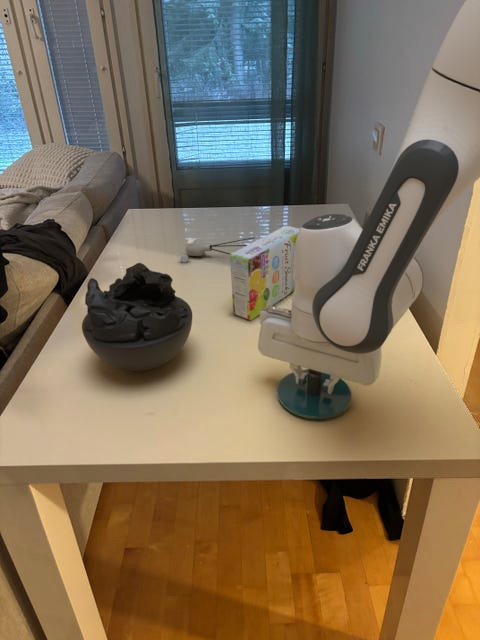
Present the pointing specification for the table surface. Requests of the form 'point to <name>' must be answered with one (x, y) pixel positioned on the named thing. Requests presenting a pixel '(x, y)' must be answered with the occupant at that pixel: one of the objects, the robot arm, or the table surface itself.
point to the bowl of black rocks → (136, 320)
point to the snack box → (263, 272)
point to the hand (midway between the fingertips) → (314, 386)
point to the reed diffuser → (202, 248)
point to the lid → (313, 396)
